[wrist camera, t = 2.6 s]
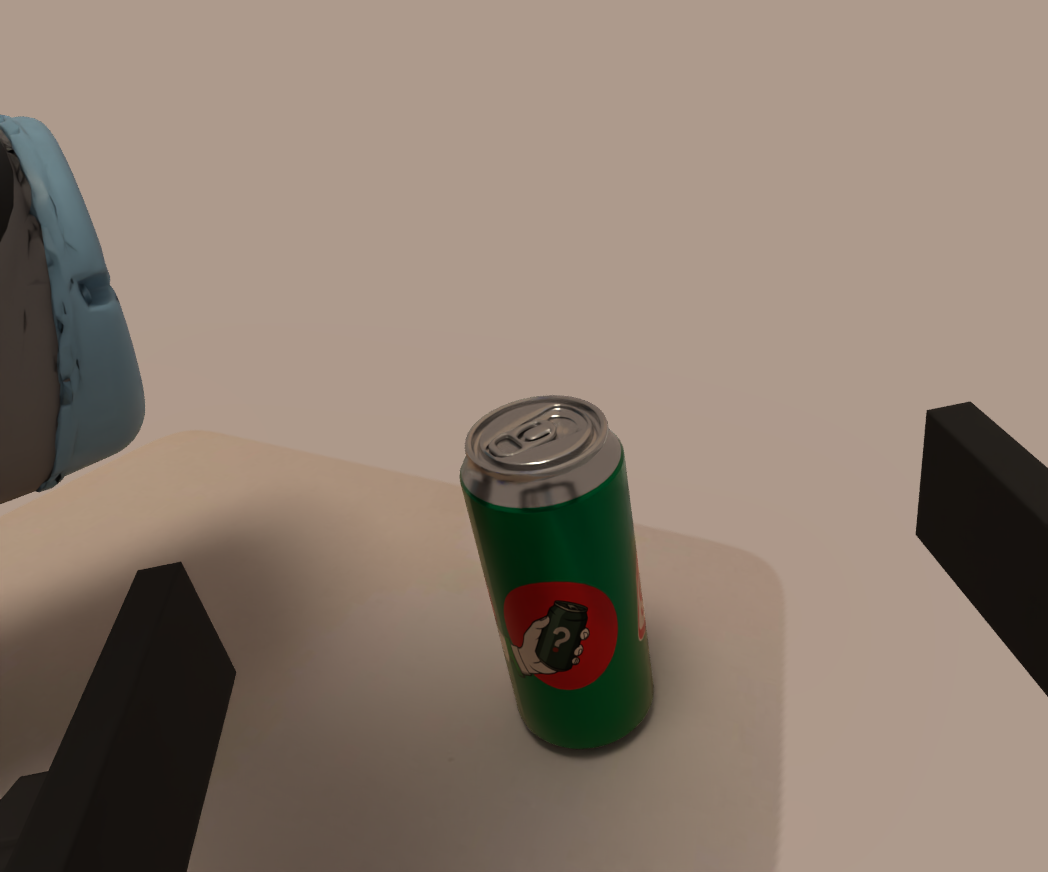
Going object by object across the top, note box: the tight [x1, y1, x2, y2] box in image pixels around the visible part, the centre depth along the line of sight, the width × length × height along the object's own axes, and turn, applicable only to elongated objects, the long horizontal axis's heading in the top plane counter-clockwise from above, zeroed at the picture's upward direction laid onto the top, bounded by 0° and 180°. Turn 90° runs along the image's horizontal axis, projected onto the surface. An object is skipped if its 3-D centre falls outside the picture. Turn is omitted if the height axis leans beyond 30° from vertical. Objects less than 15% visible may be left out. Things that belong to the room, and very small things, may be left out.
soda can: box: [460, 395, 654, 749], centre depth 28 cm, size 5×5×12 cm
